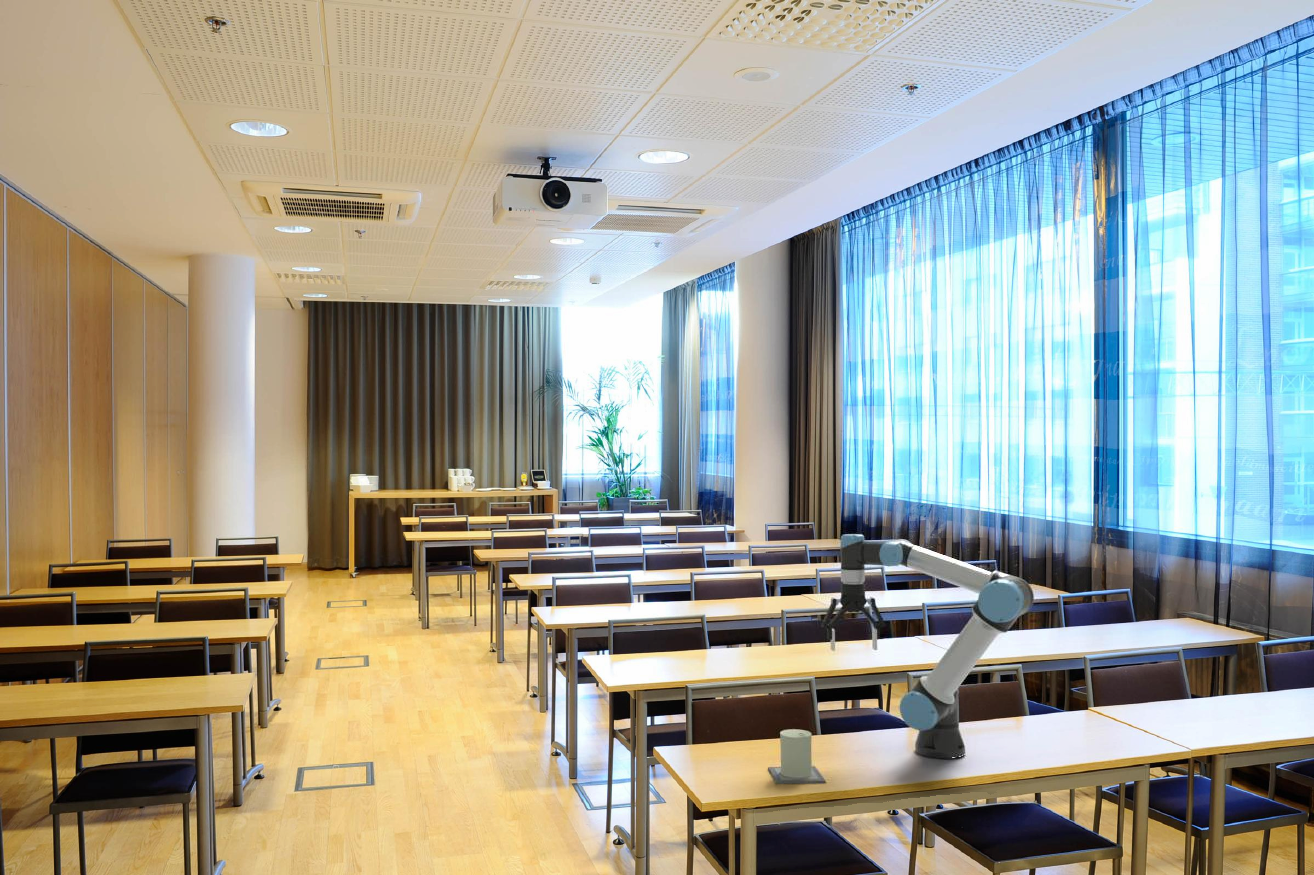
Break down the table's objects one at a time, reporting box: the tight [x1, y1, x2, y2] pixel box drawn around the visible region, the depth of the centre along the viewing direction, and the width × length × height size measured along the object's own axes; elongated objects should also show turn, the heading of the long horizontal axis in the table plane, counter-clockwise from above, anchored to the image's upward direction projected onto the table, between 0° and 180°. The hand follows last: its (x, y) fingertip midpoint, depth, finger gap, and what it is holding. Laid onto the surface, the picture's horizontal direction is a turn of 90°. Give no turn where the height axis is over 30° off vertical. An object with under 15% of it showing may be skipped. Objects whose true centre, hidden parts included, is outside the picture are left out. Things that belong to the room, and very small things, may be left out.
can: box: [779, 728, 813, 778], centre depth 273 cm, size 9×9×12 cm
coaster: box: [767, 765, 827, 785], centre depth 273 cm, size 14×14×1 cm
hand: (853, 649), depth 300 cm, fingers open, 13 cm apart
